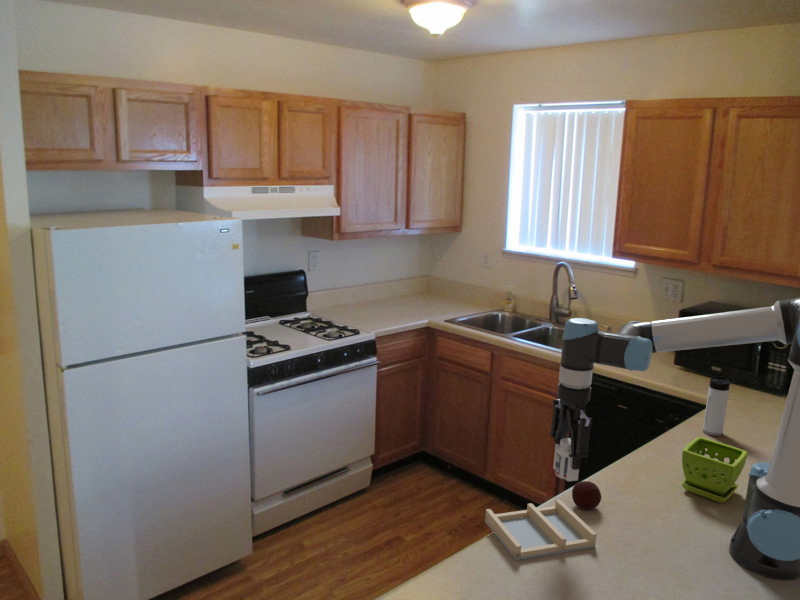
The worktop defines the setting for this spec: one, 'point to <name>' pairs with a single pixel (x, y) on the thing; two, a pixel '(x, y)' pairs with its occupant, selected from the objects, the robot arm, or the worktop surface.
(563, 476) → the pill bottle
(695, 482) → the flower pot
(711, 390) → the travel mug
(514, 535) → the open tray
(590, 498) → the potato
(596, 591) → the worktop surface
